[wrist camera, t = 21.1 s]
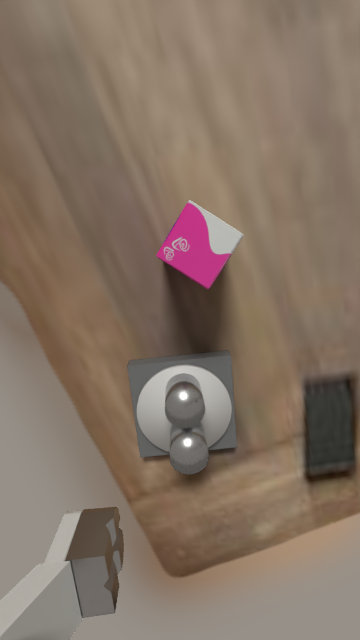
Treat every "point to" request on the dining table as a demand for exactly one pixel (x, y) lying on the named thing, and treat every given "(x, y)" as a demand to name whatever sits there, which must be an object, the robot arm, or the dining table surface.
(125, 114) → the dining table surface
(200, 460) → the cylinder
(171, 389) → the cylinder
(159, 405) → the scale
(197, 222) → the supplement box
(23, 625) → the robot arm
